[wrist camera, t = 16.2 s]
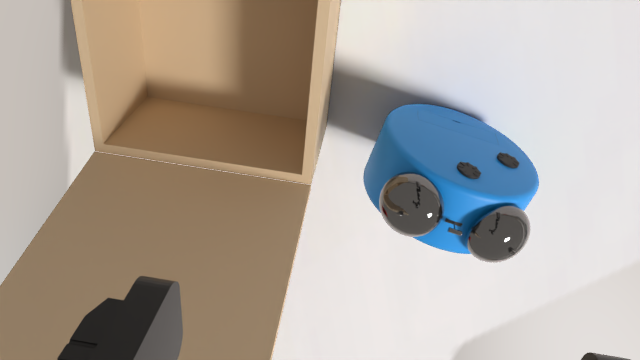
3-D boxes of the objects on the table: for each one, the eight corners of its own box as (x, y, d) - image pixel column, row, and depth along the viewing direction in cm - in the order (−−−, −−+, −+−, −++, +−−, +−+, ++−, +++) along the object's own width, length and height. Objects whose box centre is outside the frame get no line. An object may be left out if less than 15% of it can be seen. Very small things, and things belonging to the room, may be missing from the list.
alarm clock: (366, 139, 52) (353, 239, 39) (389, 83, 48) (383, 173, 36) (493, 182, 52) (520, 293, 40) (525, 129, 49) (566, 233, 37)
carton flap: (-129, 459, 26) (-114, 470, 27) (230, 529, 25) (231, 537, 26) (93, 147, 44) (97, 161, 45) (311, 181, 43) (310, 194, 44)
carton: (123, -108, 42) (55, -91, 34) (349, -80, 41) (336, -55, 33) (143, 99, 52) (95, 150, 44) (326, 126, 51) (311, 184, 43)
